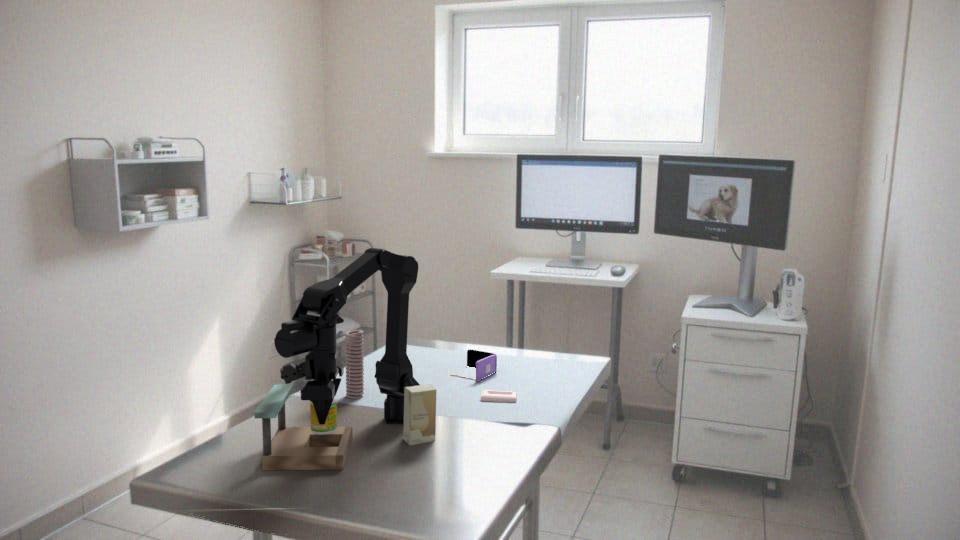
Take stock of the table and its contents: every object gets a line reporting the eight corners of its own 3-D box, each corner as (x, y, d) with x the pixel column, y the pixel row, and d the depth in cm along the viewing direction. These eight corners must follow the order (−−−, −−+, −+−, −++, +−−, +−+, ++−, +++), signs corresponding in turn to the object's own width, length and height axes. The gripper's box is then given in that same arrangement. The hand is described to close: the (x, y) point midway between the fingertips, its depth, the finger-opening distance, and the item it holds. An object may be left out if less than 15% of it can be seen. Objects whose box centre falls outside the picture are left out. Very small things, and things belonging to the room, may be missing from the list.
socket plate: (352, 437, 164) (352, 384, 162) (342, 471, 146) (341, 412, 144) (275, 438, 163) (274, 384, 161) (256, 472, 145) (254, 412, 143)
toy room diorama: (501, 376, 213) (501, 353, 212) (479, 386, 203) (479, 362, 202) (467, 369, 220) (467, 347, 219) (444, 379, 210) (444, 356, 209)
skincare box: (410, 446, 160) (410, 392, 158) (402, 439, 163) (402, 386, 162) (437, 441, 163) (437, 388, 161) (429, 435, 166) (429, 383, 164)
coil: (342, 398, 190) (341, 331, 188) (352, 393, 195) (351, 327, 192) (358, 401, 189) (357, 333, 186) (367, 396, 193) (366, 329, 190)
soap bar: (515, 406, 188) (516, 397, 187) (480, 404, 189) (480, 395, 188) (517, 399, 193) (517, 391, 193) (482, 398, 194) (483, 389, 194)
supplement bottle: (330, 436, 151) (329, 391, 150) (306, 434, 152) (305, 389, 151) (340, 427, 156) (340, 383, 155) (317, 425, 157) (316, 381, 156)
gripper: (291, 336, 160) (293, 404, 163) (273, 359, 142) (275, 436, 144) (343, 336, 161) (344, 404, 163) (331, 359, 142) (332, 435, 145)
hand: (324, 419), depth 154 cm, fingers closed on supplement bottle, 5 cm apart
